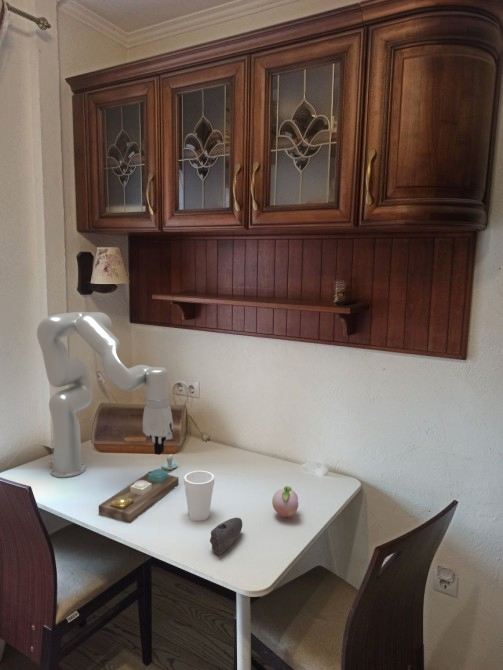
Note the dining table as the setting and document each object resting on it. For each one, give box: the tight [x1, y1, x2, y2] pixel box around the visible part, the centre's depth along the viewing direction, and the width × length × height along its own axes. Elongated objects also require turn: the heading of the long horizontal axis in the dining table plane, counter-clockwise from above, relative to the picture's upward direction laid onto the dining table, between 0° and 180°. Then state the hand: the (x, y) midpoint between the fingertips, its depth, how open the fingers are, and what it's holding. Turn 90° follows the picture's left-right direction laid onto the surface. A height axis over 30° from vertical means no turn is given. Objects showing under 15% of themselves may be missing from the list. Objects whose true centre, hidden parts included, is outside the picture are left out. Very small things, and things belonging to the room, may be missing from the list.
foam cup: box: [183, 470, 215, 522], centre depth 151 cm, size 10×9×13 cm
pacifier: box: [158, 454, 179, 472], centre depth 185 cm, size 7×6×6 cm
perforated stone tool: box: [209, 517, 243, 555], centre depth 136 cm, size 15×5×7 cm, turn 148°
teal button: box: [148, 468, 169, 483], centre depth 170 cm, size 5×5×4 cm
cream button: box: [130, 480, 152, 496], centre depth 161 cm, size 5×5×4 cm
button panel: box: [98, 470, 180, 524], centre depth 161 cm, size 12×28×3 cm, turn 157°
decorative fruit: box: [271, 485, 299, 518], centre depth 151 cm, size 9×8×10 cm
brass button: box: [111, 496, 133, 510], centre depth 152 cm, size 5×5×4 cm
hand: (159, 453), depth 169 cm, fingers closed
